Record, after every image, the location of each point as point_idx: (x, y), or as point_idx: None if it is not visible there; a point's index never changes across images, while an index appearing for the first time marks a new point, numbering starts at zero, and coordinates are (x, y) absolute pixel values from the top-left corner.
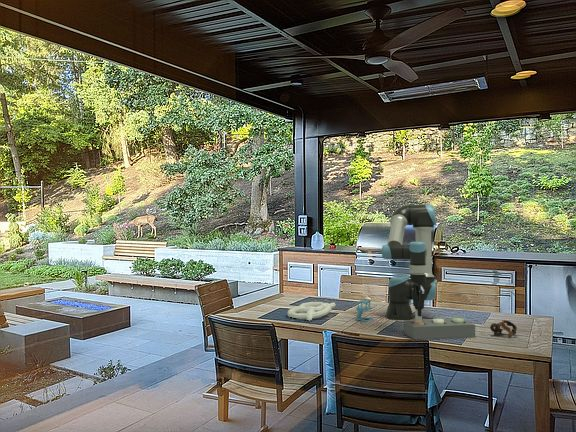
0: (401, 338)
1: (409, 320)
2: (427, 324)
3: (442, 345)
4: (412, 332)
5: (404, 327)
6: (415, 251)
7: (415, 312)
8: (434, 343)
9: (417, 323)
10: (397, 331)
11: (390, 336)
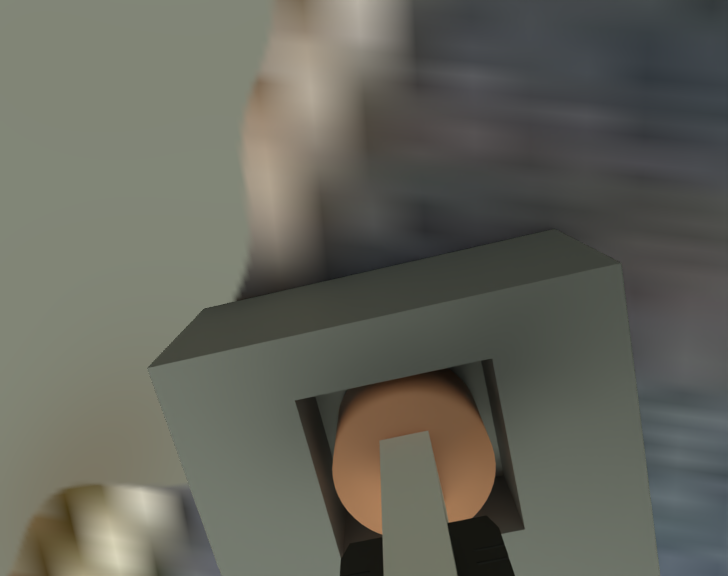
0: (253, 163)
1: (625, 358)
2: None
3: (28, 542)
4: (242, 319)
5: (551, 248)
6: None
7: (442, 542)
8: (89, 486)
9: (372, 447)
10: (627, 151)
11: (343, 22)
